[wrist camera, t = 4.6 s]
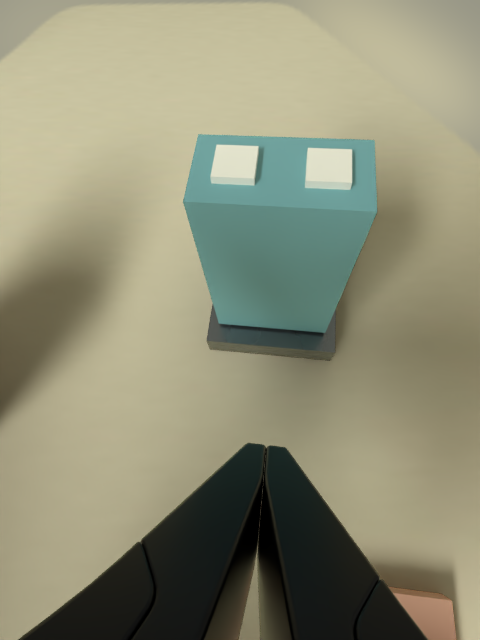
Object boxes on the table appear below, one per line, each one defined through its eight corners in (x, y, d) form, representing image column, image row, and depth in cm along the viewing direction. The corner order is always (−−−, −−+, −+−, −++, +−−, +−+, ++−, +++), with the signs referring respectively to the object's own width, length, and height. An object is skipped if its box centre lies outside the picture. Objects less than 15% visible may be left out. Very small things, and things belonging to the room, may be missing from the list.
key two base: (330, 360, 21) (346, 332, 17) (210, 349, 22) (197, 320, 18) (332, 253, 24) (346, 207, 20) (226, 246, 25) (218, 200, 21)
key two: (330, 333, 20) (390, 205, 11) (219, 323, 21) (181, 194, 11) (331, 285, 21) (386, 132, 12) (225, 278, 22) (196, 126, 12)
